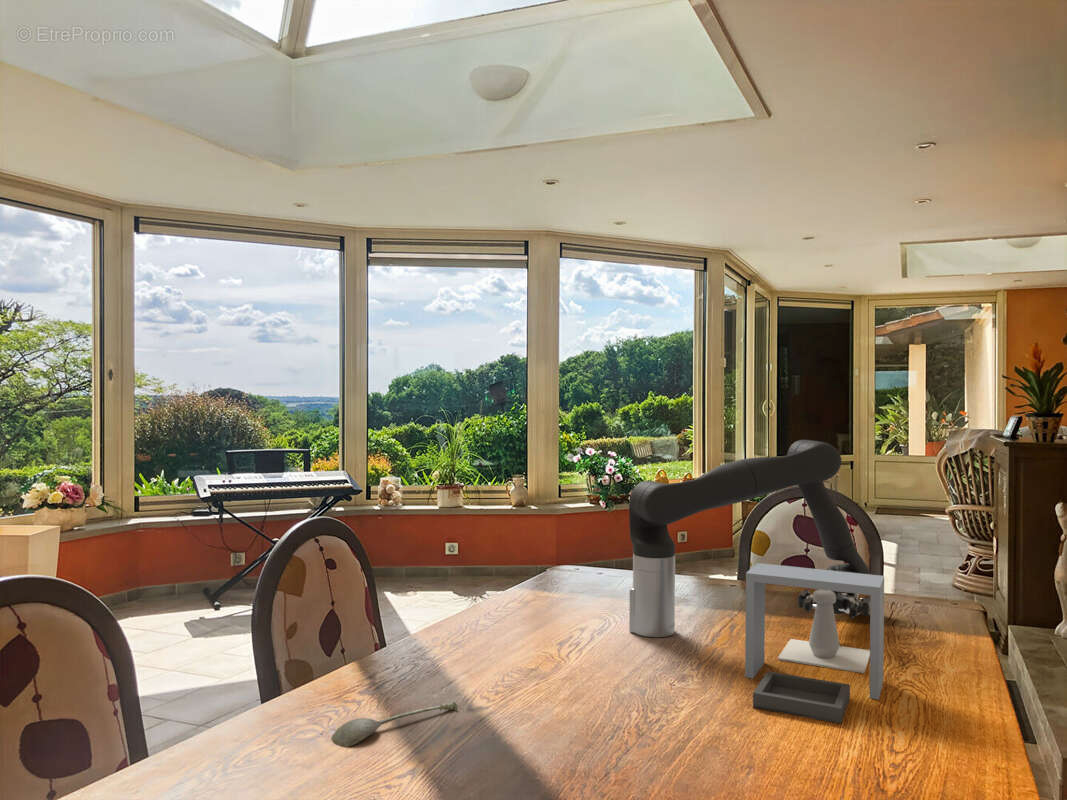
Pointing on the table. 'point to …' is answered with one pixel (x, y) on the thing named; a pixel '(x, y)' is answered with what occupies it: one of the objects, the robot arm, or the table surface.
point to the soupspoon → (372, 726)
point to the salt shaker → (824, 626)
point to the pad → (843, 660)
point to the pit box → (802, 696)
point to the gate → (813, 580)
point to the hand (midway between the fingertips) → (829, 610)
